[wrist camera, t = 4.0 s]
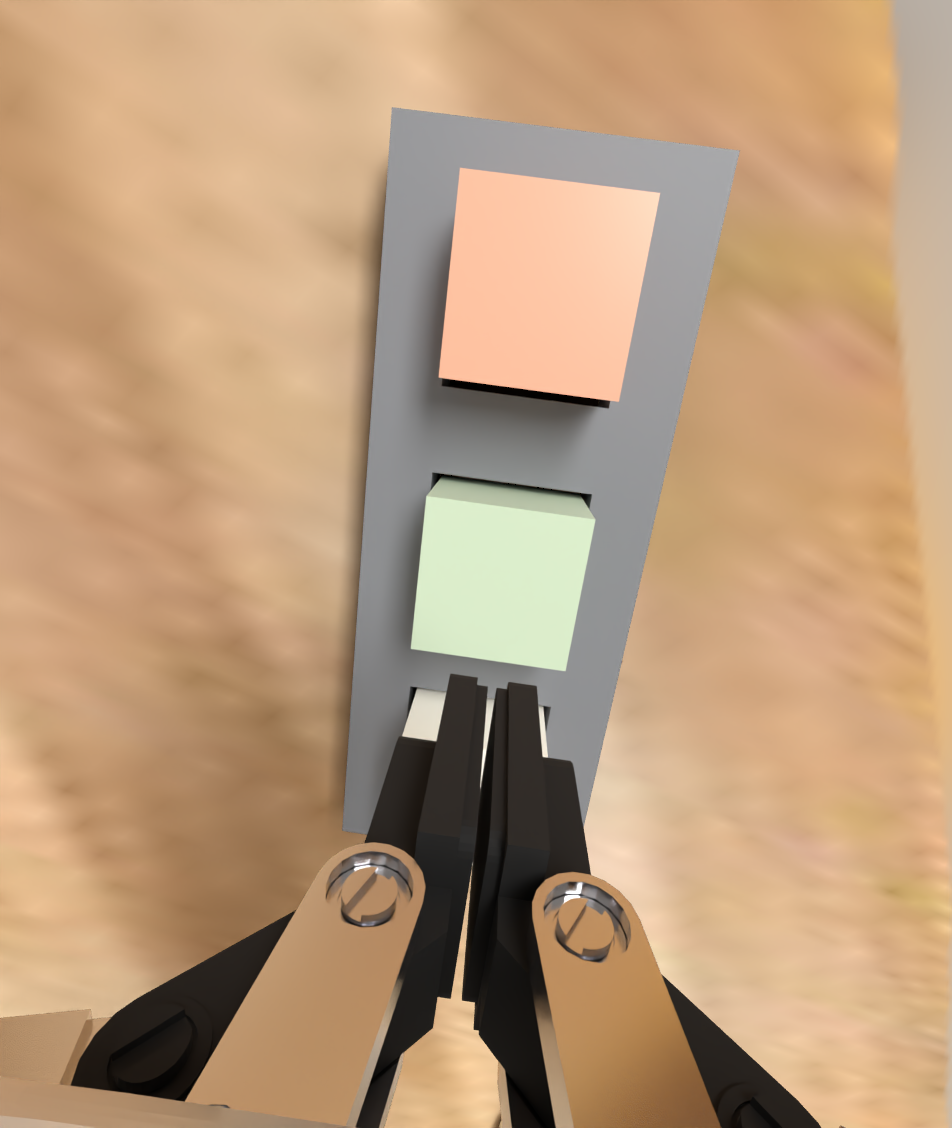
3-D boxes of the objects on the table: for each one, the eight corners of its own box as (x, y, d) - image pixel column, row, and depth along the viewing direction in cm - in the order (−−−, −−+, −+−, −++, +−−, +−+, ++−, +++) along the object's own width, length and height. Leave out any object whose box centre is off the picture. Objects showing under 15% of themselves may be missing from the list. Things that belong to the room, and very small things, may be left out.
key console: (710, 181, 22) (739, 150, 19) (568, 822, 32) (574, 866, 29) (407, 143, 22) (391, 107, 19) (357, 790, 32) (342, 830, 29)
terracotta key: (627, 236, 21) (660, 192, 17) (597, 399, 23) (618, 401, 19) (471, 216, 22) (460, 167, 17) (453, 379, 23) (438, 377, 19)
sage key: (579, 493, 24) (595, 519, 20) (555, 620, 26) (565, 671, 22) (443, 475, 25) (426, 495, 20) (429, 601, 26) (410, 648, 22)
